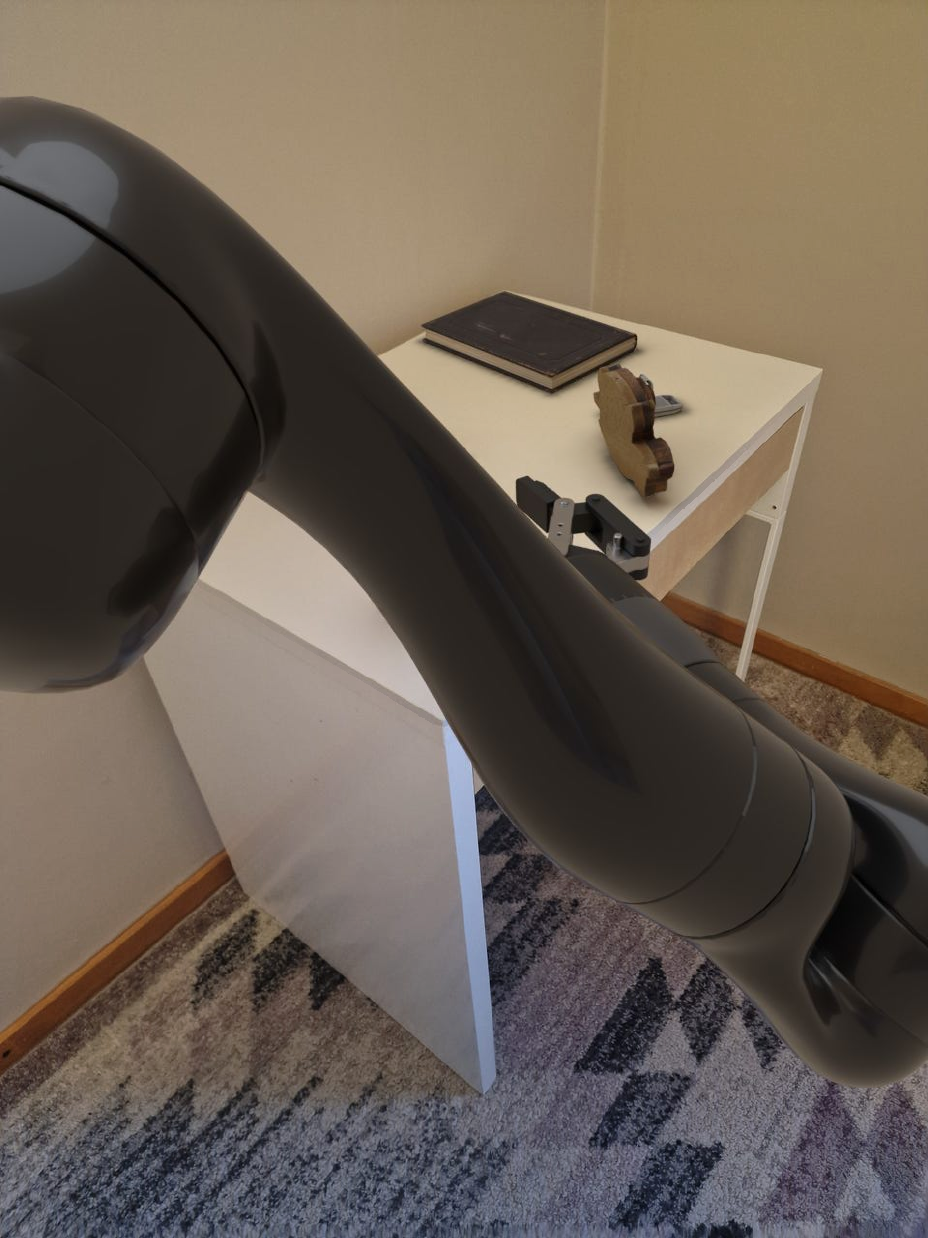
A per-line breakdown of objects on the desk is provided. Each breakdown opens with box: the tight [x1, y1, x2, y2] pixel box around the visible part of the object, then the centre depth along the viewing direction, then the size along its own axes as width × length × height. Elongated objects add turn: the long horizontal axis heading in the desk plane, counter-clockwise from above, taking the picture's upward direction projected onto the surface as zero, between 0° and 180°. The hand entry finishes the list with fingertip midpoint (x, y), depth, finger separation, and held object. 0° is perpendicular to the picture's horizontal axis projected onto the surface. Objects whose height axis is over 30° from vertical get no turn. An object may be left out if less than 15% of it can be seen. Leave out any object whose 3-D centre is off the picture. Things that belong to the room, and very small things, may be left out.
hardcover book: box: [420, 290, 638, 394], centre depth 110 cm, size 16×23×2 cm
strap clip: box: [638, 373, 683, 418], centre depth 94 cm, size 8×3×4 cm, turn 107°
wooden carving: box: [593, 363, 676, 498], centre depth 83 cm, size 16×5×10 cm, turn 16°
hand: (460, 509), depth 53 cm, fingers open, 8 cm apart
